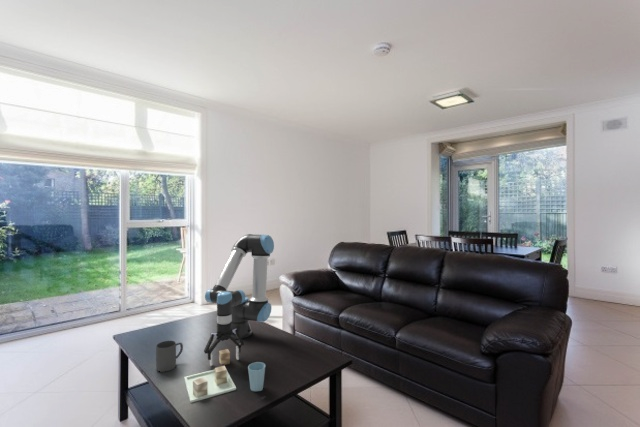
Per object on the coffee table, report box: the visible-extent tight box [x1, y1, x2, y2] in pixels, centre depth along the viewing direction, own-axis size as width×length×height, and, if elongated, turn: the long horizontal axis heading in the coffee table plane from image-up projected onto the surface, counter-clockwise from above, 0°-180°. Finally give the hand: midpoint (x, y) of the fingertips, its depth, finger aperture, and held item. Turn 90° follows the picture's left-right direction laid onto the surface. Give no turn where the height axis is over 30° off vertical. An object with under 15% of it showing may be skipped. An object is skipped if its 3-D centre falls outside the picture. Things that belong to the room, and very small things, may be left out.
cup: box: [247, 361, 266, 392], centre depth 141 cm, size 8×8×10 cm
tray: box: [183, 368, 237, 404], centre depth 144 cm, size 19×21×2 cm
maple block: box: [193, 377, 208, 398], centre depth 135 cm, size 4×4×6 cm
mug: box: [155, 340, 184, 373], centre depth 161 cm, size 14×9×12 cm
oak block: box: [218, 348, 231, 366], centre depth 165 cm, size 4×4×6 cm
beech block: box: [214, 365, 228, 385], centre depth 146 cm, size 4×4×6 cm
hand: (224, 362), depth 165 cm, fingers open, 13 cm apart
